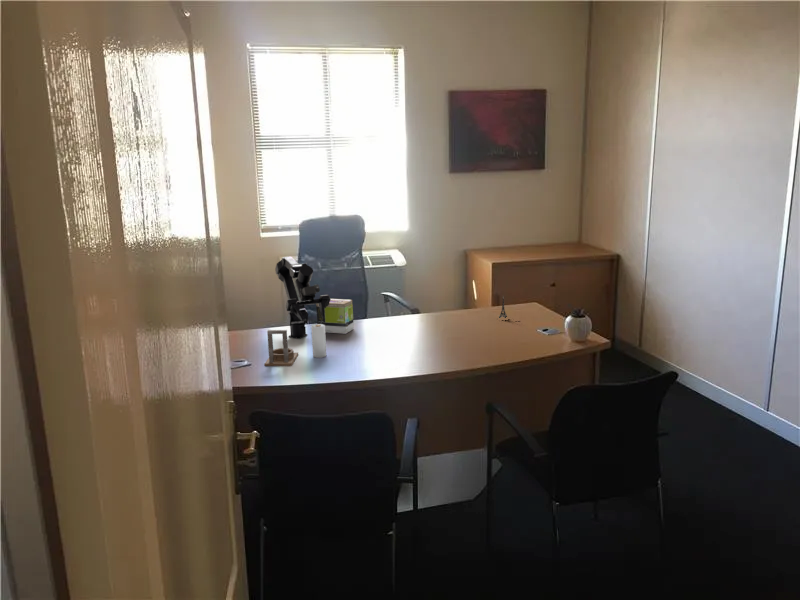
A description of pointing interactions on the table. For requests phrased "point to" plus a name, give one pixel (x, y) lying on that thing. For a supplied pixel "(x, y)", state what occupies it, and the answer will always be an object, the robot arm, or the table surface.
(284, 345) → the stand
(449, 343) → the table surface
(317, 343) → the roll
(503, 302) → the eiffel tower figurine
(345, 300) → the tea box
